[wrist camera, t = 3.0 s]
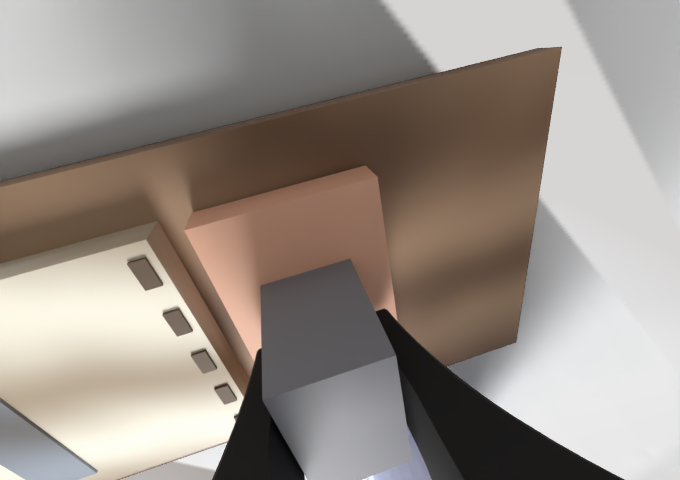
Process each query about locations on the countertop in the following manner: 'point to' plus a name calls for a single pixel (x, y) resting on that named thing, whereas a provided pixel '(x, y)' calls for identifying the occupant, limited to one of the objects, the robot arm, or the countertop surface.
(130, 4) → the countertop surface
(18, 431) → the board
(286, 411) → the pink grey stepped block
